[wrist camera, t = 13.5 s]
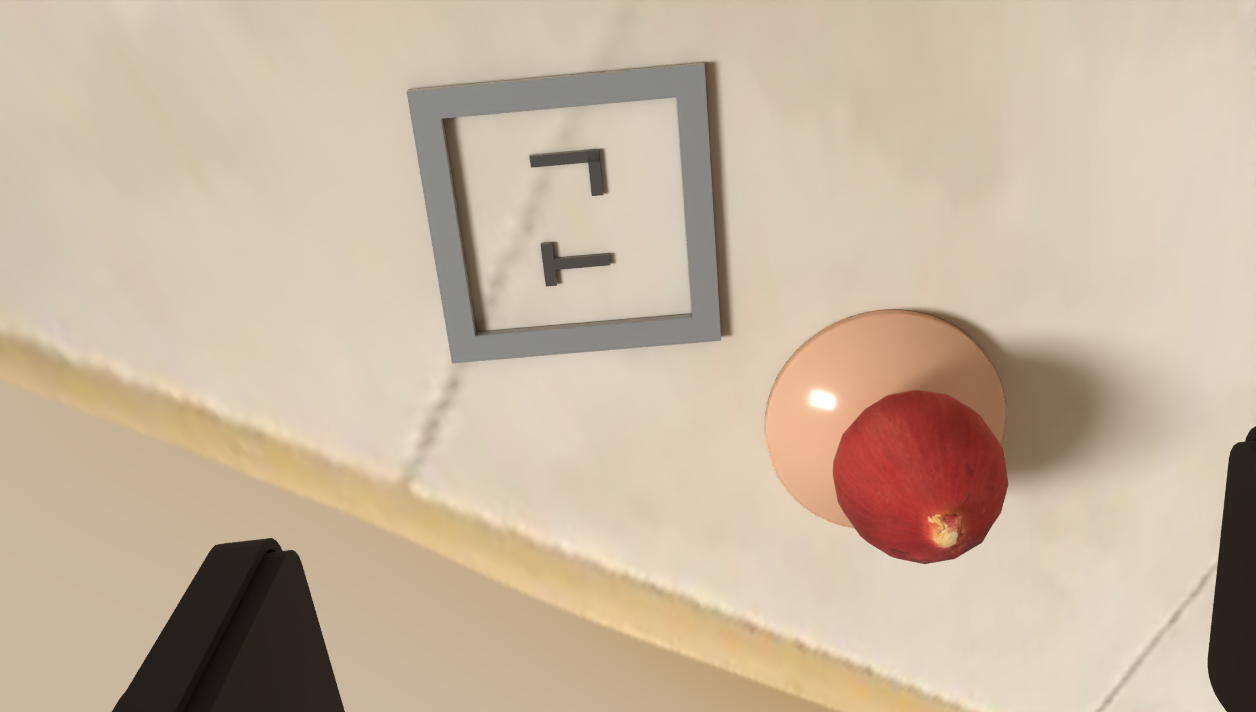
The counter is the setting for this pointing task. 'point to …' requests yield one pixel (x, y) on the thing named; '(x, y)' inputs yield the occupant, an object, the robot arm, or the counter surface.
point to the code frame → (583, 91)
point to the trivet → (866, 392)
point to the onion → (920, 476)
